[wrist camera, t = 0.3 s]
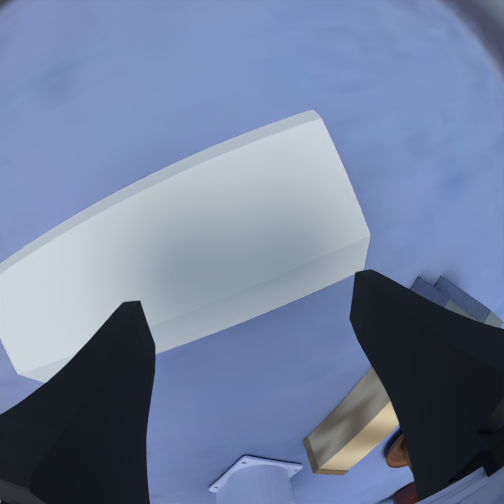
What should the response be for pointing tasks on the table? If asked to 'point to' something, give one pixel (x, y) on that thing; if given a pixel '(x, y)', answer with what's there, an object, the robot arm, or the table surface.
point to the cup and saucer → (398, 454)
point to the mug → (406, 495)
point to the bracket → (455, 300)
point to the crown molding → (189, 247)
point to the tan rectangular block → (352, 428)
